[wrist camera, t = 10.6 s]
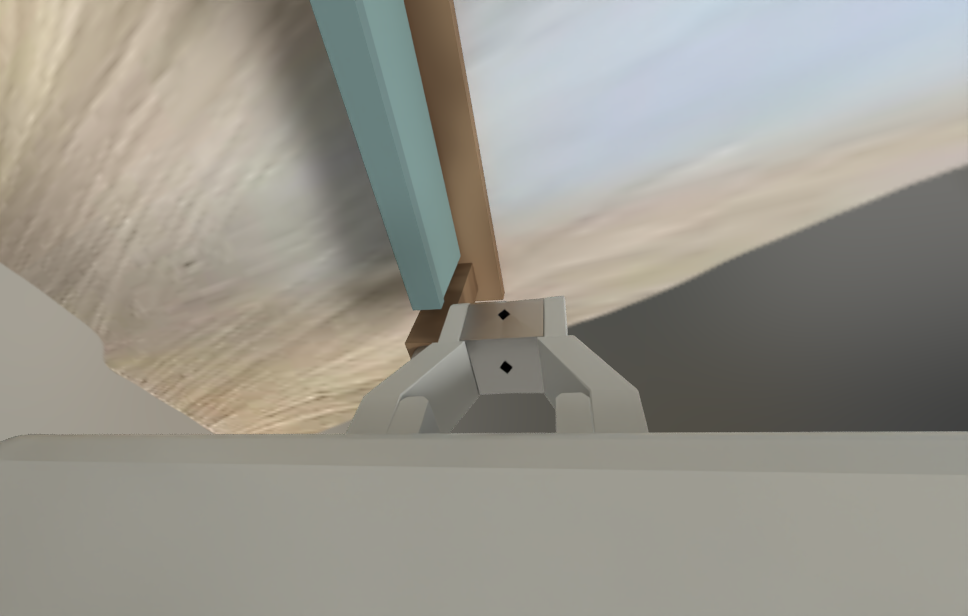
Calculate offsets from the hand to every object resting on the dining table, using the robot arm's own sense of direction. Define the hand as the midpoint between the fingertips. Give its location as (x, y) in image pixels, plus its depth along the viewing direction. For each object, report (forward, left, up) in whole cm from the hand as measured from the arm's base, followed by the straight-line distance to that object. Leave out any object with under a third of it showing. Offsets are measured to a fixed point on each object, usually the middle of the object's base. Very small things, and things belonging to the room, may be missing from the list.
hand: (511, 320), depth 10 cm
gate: (-7, +3, -16) cm, 18 cm away
